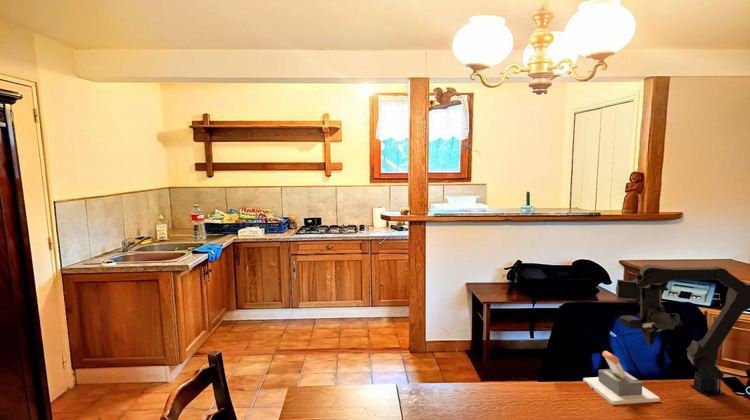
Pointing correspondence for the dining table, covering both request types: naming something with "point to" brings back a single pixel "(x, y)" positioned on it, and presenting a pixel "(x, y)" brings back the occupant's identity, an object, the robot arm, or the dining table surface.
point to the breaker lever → (614, 364)
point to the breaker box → (620, 388)
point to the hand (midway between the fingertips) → (649, 344)
